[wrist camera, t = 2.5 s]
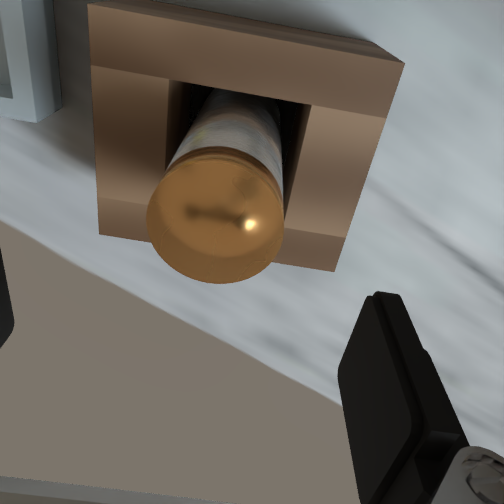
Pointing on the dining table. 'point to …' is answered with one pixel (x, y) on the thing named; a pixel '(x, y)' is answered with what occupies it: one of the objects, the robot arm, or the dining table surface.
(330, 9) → the dining table surface
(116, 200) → the block
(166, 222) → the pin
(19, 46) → the tray
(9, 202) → the dining table surface
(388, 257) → the dining table surface
